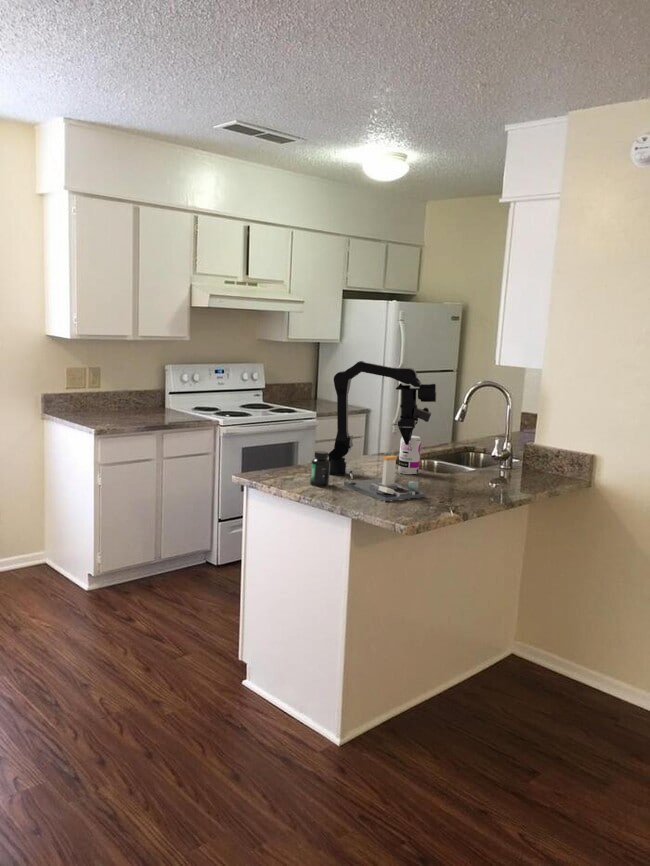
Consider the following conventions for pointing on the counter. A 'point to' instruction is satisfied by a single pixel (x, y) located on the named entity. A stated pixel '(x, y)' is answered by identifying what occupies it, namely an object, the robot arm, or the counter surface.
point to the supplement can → (410, 456)
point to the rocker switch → (386, 489)
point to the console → (372, 488)
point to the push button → (413, 485)
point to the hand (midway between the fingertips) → (408, 442)
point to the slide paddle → (389, 472)
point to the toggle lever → (351, 474)
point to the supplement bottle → (320, 469)
